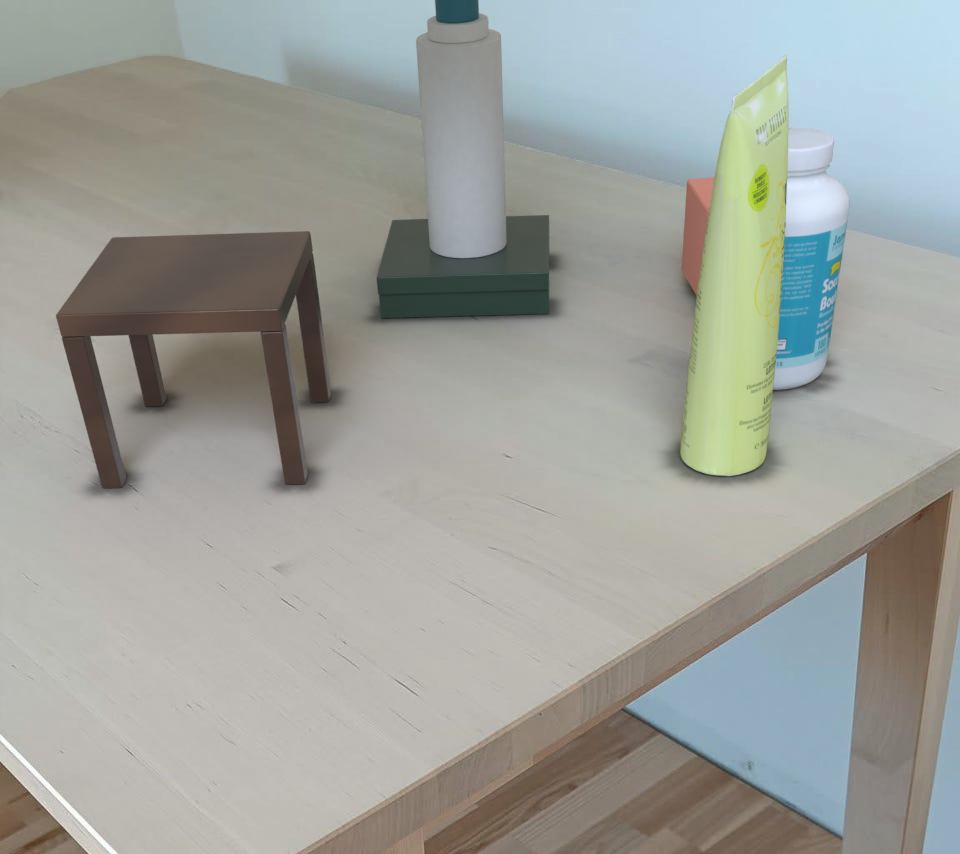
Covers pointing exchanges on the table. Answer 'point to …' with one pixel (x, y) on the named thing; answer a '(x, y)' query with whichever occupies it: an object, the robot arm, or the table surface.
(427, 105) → the bottle
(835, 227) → the pill bottle
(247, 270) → the small brown table
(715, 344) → the tube
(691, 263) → the salmon pink upright block
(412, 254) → the green lidded gift box
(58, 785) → the table surface
